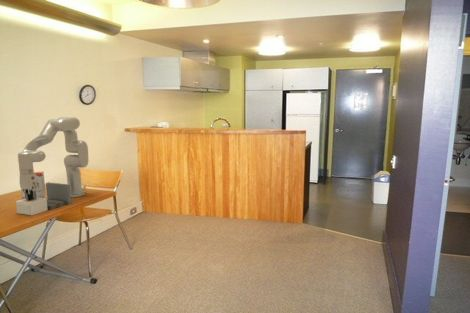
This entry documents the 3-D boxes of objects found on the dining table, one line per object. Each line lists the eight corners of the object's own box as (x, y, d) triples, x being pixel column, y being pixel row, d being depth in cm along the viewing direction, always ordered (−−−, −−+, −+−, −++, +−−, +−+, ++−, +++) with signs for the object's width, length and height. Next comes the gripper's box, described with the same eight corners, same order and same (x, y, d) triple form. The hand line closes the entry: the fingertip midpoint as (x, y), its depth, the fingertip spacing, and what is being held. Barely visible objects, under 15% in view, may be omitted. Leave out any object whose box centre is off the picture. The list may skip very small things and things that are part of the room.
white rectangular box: (33, 208, 217) (31, 189, 215) (47, 210, 213) (45, 191, 211) (16, 213, 206) (14, 193, 204) (31, 215, 202) (29, 195, 200)
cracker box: (22, 202, 231) (19, 173, 227) (24, 200, 236) (21, 172, 233) (44, 200, 235) (41, 172, 232) (46, 198, 241) (43, 170, 237)
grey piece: (50, 201, 233) (48, 182, 231) (71, 203, 226) (69, 184, 224) (30, 207, 219) (28, 187, 217) (52, 210, 212) (50, 189, 210)
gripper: (41, 171, 205) (43, 199, 208) (23, 169, 211) (26, 197, 214) (30, 173, 198) (33, 202, 201) (12, 171, 204) (15, 200, 207)
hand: (29, 199), depth 207 cm, fingers closed on white rectangular box
